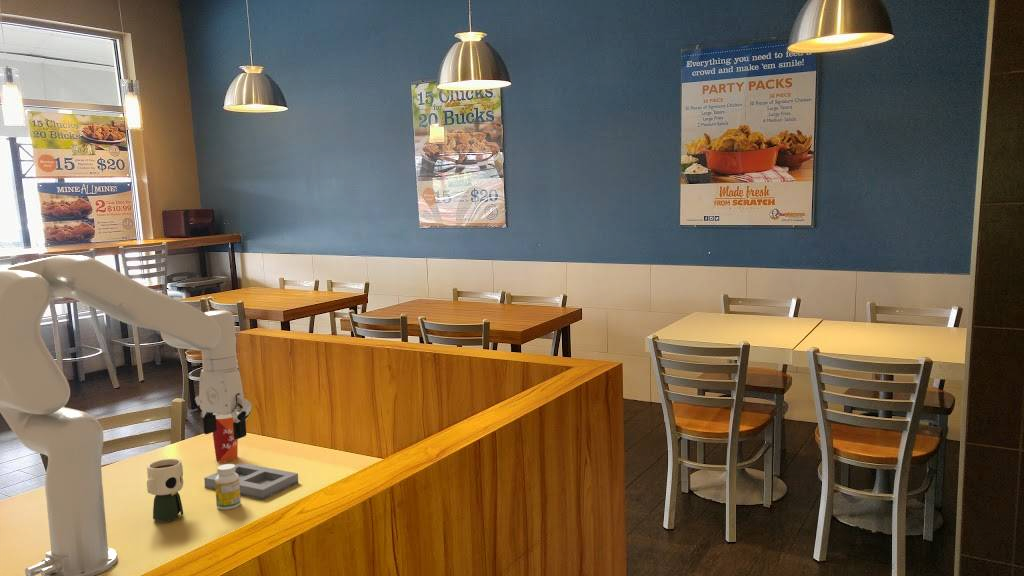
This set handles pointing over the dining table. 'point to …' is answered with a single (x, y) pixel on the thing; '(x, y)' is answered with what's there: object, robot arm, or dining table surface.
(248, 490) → the drink carrier
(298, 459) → the dining table surface
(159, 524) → the dining table surface
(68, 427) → the robot arm
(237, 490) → the supplement bottle
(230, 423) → the paper cup
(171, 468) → the character mug
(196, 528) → the dining table surface
